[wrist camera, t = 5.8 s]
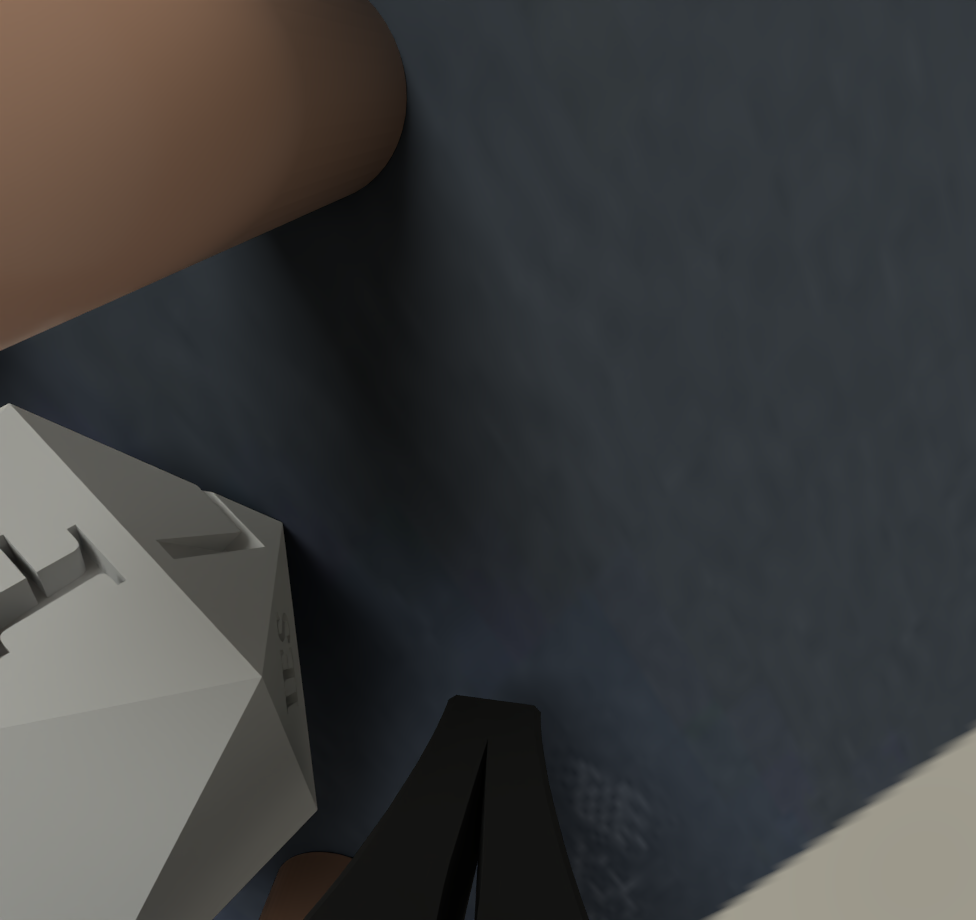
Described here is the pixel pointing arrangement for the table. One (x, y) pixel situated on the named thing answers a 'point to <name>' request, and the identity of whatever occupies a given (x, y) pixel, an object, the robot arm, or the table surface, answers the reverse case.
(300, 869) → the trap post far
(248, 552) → the die
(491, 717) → the robot arm
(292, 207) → the trap post near
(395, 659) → the table surface
